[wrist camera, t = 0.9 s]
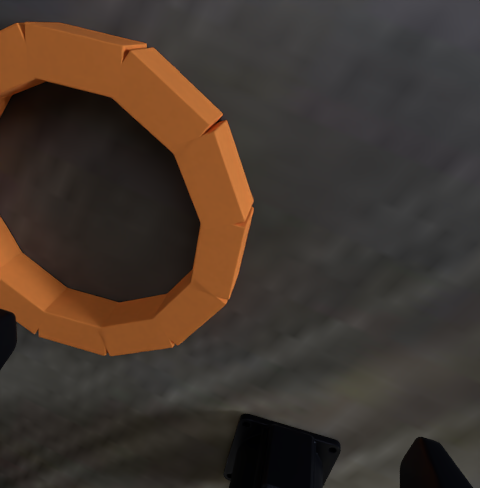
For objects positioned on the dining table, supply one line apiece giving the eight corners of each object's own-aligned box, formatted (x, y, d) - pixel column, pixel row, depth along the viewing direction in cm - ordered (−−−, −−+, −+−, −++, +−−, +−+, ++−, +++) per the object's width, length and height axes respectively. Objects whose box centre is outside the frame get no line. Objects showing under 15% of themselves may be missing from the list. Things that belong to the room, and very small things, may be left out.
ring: (218, 357, 25) (208, 387, 23) (-29, 285, 26) (-60, 308, 24) (285, 76, 17) (279, 83, 15) (-70, -9, 18) (-121, -14, 16)
